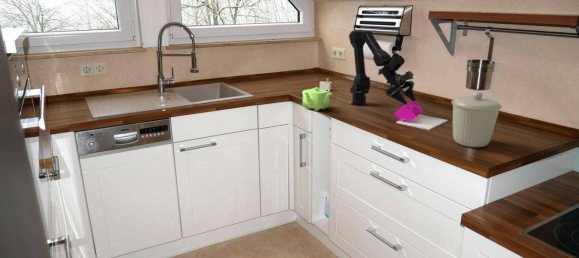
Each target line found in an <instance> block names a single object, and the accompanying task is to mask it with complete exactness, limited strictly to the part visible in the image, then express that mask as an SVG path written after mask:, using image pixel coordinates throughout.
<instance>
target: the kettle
mask: <svg viewBox="0 0 579 258" xmlns="http://www.w3.org/2000/svg"><path fill="white" fill-rule="evenodd" d="M301 94H302V107H306V110H311V109H314V112H319V110H326V108H330V105H331V103H330V102H331V95H332V94H333V93H332V92H331V91H326V90H321V89H320V87H317V86H316V87H313V88H309V89H304V90H303V91H302V92H301Z"/></svg>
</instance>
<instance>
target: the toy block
mask: <svg viewBox="0 0 579 258" xmlns="http://www.w3.org/2000/svg"><path fill="white" fill-rule="evenodd" d="M423 112H424V110H423V109H422V107H421V106H420V105H419V104H418V103H417V102H416V101H413V100H411V99H410V101H408V102H407V104H404V105H403V106H401V107H400V108H399V109H397V110H396V111H394V113H393V114H394V115H395V116H396V118H397V119H398V121H401V120H402V119H406V120H407V121H408V123H409V122H410V121H412V120H413V119H414V118H415V117H417V116H418V115H421V114H422V113H423Z"/></svg>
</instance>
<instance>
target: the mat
mask: <svg viewBox="0 0 579 258" xmlns="http://www.w3.org/2000/svg"><path fill="white" fill-rule="evenodd" d="M446 122H447V123H448V119H444V118H439V117H433V116H429V115H428V116H427V115H424V114H419V115H418V116H417V117H415V118H414V119H413V120H412V121H410V122H409V123H408V121H407V120H406V119H405V118H404V119H402V120H401V121H400V120H397V121H396V124H399V125H403V126H404V125H405V126H409V127H413V128H418V129H422V130H427V131H430V130H433V129H434V128H437V127H439V126H441V125H443V124H444V123H446Z"/></svg>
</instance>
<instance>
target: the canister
mask: <svg viewBox="0 0 579 258" xmlns="http://www.w3.org/2000/svg"><path fill="white" fill-rule="evenodd" d="M451 104H452V137H453V140H454V141H455V143H457V144H458V145H461V146H463V147H469V148H484V147H486V146H487V145H488V144H489V143H490V142H491V139H492V136H493V133H494V130H495V126H496V124H497V119H498V115H499V112H500V110H501V109H502V108H503V106H502V104H500V103H499V102H498V101H496V100H493V99H491V98H487V97H483V93H482V92H481V91H474V92H473V93H472V96H460V97H456V98H455V99H452V100H451Z"/></svg>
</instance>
